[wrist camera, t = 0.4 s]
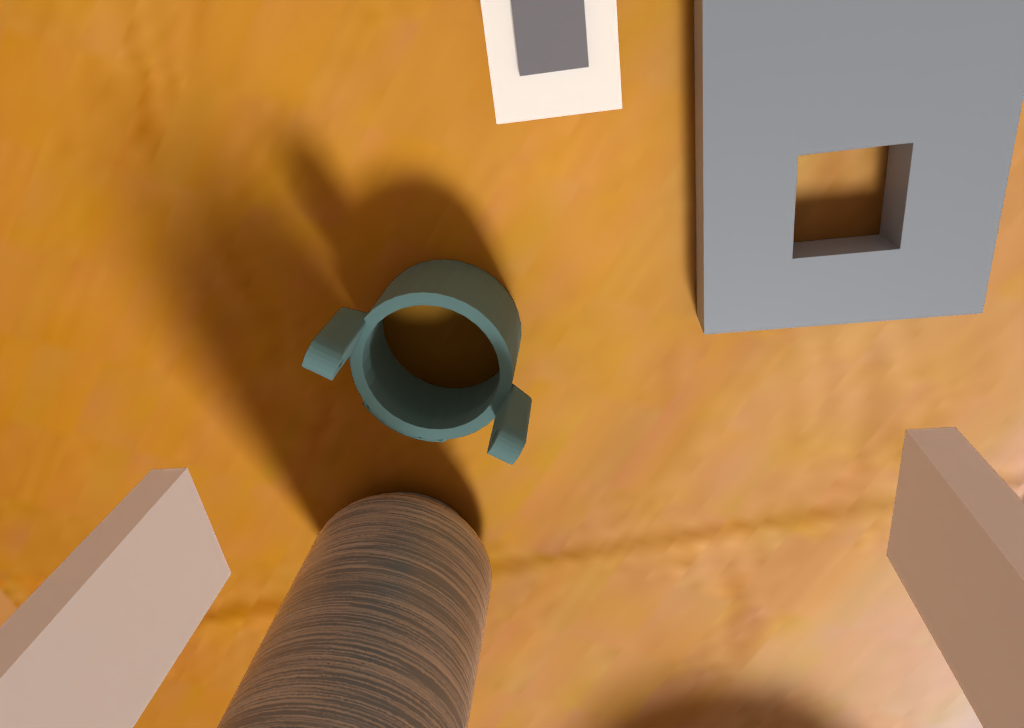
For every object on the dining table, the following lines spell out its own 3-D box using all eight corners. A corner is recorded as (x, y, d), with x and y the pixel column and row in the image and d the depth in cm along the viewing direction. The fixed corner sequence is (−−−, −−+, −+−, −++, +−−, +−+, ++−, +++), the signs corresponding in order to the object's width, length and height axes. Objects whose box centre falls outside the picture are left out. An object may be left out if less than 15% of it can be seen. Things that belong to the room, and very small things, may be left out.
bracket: (351, 276, 38) (287, 345, 30) (510, 243, 36) (488, 308, 28) (399, 412, 41) (354, 506, 33) (546, 389, 40) (535, 482, 32)
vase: (340, 600, 49) (165, 1012, 28) (316, 468, 44) (79, 857, 23) (499, 609, 48) (435, 1046, 27) (493, 475, 43) (409, 890, 22)
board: (691, -258, 26) (701, -284, 24) (1062, -333, 24) (1111, -369, 22) (697, 315, 36) (704, 334, 34) (956, 294, 35) (982, 313, 32)
